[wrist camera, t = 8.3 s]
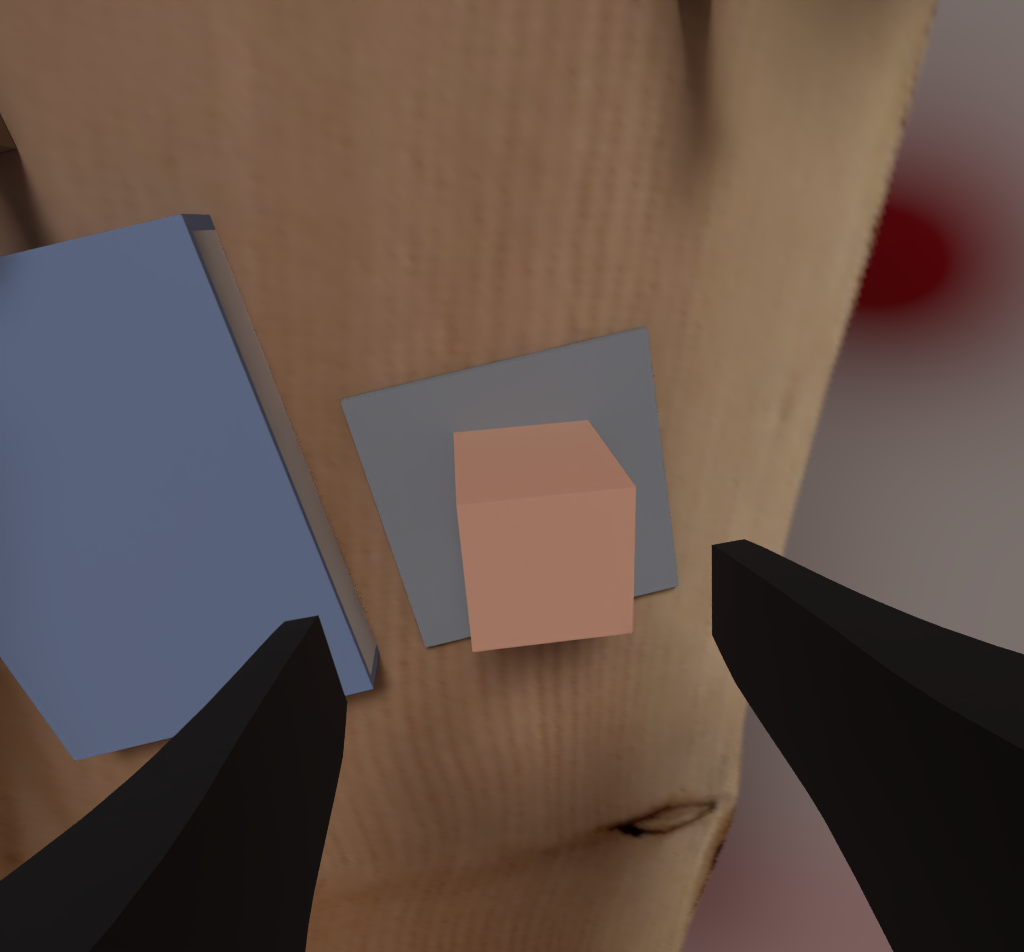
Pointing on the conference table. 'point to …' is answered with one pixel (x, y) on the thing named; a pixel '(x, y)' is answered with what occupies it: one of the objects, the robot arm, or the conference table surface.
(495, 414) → the felt mat
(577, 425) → the terracotta block
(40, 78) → the conference table surface
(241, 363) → the navy book
